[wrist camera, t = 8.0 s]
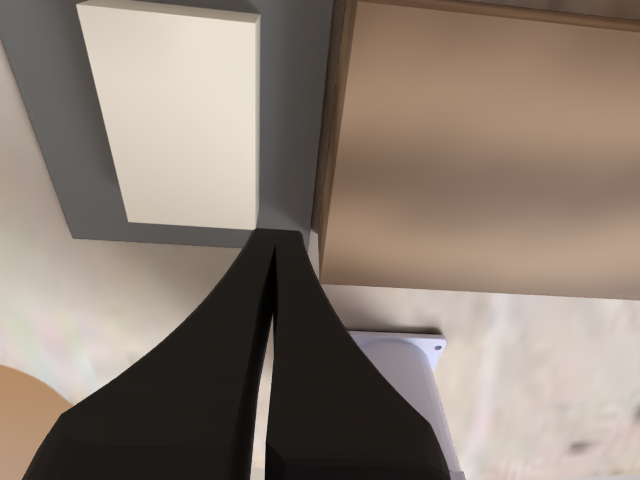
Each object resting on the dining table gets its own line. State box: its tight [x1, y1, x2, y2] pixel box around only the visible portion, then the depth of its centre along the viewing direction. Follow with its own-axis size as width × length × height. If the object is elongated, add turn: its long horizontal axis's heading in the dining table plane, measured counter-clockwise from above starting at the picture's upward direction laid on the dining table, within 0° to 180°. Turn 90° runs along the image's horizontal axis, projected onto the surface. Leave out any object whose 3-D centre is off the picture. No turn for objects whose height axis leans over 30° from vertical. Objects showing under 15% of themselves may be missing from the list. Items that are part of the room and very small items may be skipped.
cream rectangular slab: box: [76, 0, 261, 230], centre depth 17 cm, size 9×6×2 cm, turn 174°
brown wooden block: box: [318, 0, 640, 300], centre depth 18 cm, size 12×20×4 cm, turn 84°
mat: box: [0, 0, 334, 252], centre depth 18 cm, size 14×13×1 cm
